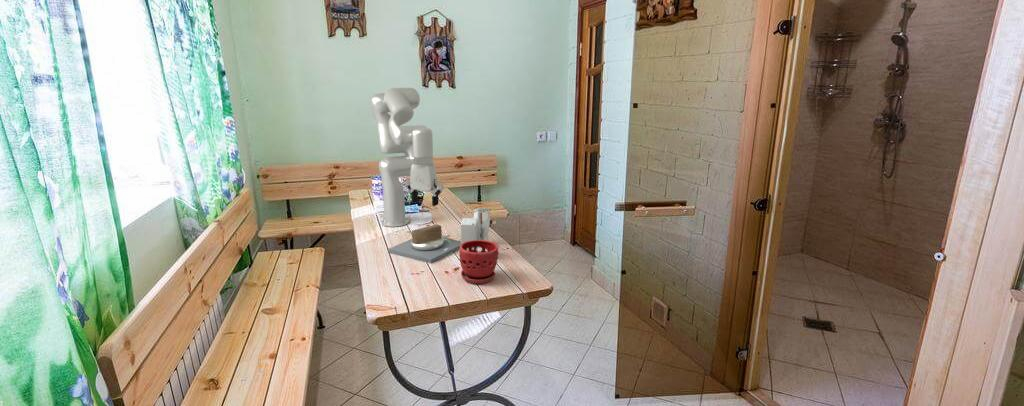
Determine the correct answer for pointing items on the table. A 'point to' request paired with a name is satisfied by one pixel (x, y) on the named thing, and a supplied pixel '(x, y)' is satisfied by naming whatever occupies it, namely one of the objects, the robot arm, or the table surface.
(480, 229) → the beer glass
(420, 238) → the tuning dial
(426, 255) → the dial plate
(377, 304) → the table surface
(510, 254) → the table surface
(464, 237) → the skincare box
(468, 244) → the plant pot
